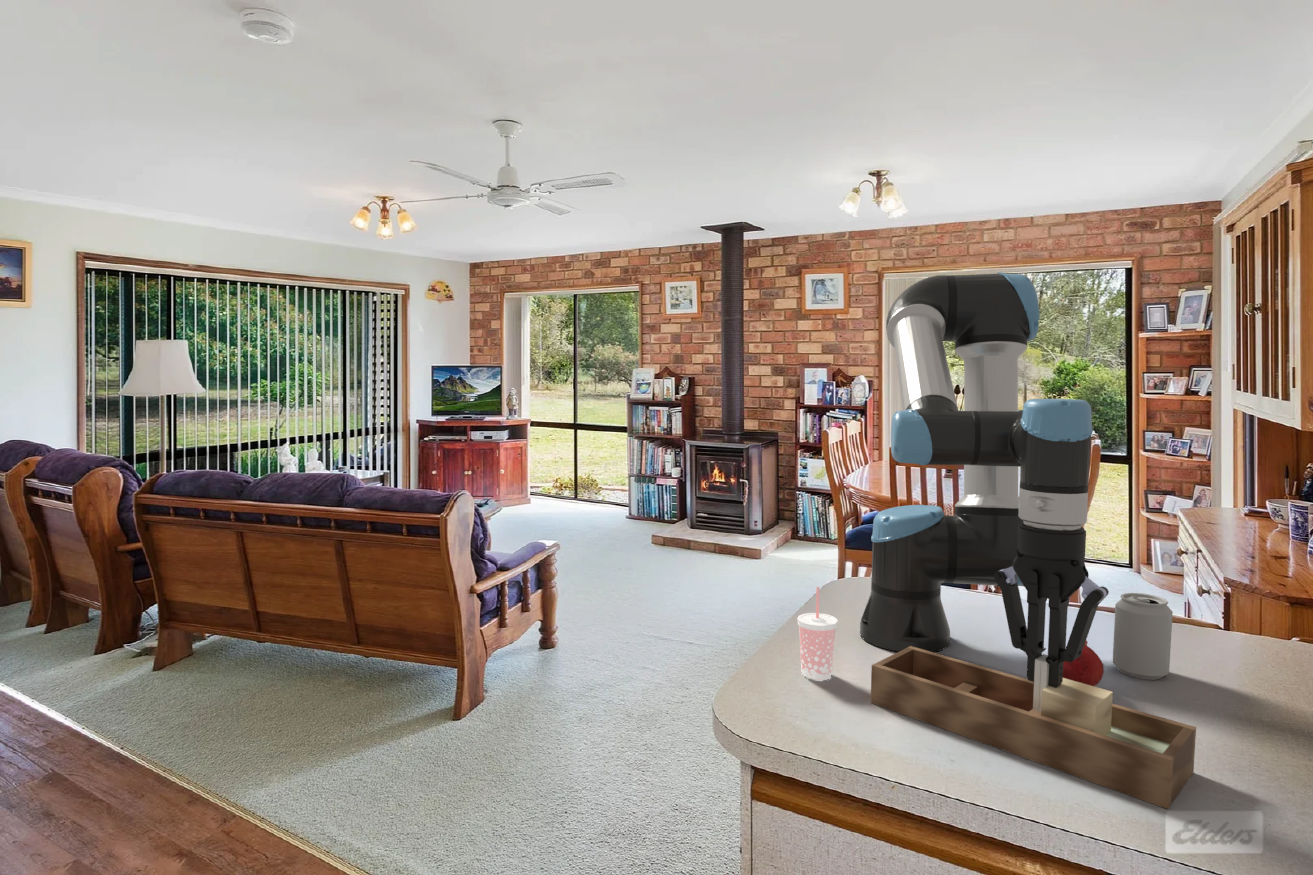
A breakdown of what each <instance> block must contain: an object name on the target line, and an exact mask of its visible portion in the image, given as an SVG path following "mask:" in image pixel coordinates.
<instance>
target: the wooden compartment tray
mask: <svg viewBox="0 0 1313 875" xmlns="http://www.w3.org/2000/svg"><path fill="white" fill-rule="evenodd" d="M870 673H871V674H870V675H871V677H870V678H871V682H870V685H871V686H870V703H871V704H874V705H876V706H879V707H882V708H884V709H887V710H890V711H893V712H894V713H895V712H896V713H899V714H901V715H905V716H907V717H909V718H912V719H915V720H918V721H921V722H924V723H926V724H929V725H932V726H934V727H937V728H940V729H944V730H946V731H949V732H951V733H954V734H957V735H960V736H963V737H966V738H968V739H971V740H974V741H977V742H979V743H981V744H985V745H987V746H991V747H994V748H997V749H999V750H1000V751H1001V750H1002V751H1004V752H1007V753H1010V754H1014V755H1015V756H1019V757H1021V758H1025V759H1027V760H1029V761H1032V762H1035V763H1038V764H1041V765H1044V766H1047V767H1049V768H1053V769H1055V770H1058V771H1060V772H1063V773H1066V774H1069V775H1071V776H1074V777H1077V778H1079V779H1083V780H1086V781H1088V782H1091V783H1094V784H1097V785H1099V786H1102V787H1105V788H1107V789H1111V790H1114V791H1117V792H1118V793H1120V794H1121V793H1122V794H1124V795H1128V796H1130V797H1133V798H1135V799H1138V800H1141V801H1144V802H1146V803H1149V804H1152V805H1156V806H1158V807H1160V808H1164V809H1166V810H1169V809H1170V807H1171V806H1172V805H1173V803H1174V801H1175V800H1176V799H1177V797H1178V796H1179V795H1180V793H1181V791H1182V790H1183V788H1184V787H1185V785H1186V784H1187V783H1188V781H1189V780H1188V779H1190V778H1192V777H1191V776H1192V775H1193V774H1194V770H1195V769H1194V768H1195V751H1196V737H1197V735H1196V734H1197V727H1196V726H1193V725H1190V724H1186V723H1183V722H1179V721H1176V720H1172V719H1170V718H1169V719H1168V718H1165V717H1161V716H1158V715H1154V714H1152V713H1148V712H1144V711H1141V710H1138V709H1133V708H1129V707H1126V706H1122V705H1121V704H1120V705H1119V704H1116V703H1113V702H1112V718H1111V731H1110V732H1109V733H1108V734H1107V735H1106V736H1105V735H1102V734H1099V733H1095V732H1092V731H1089V730H1086V729H1083V728H1080V727H1076V726H1073V725H1070V724H1067V723H1064V722H1060V721H1057V720H1054V719H1051V718H1048V717H1045V716H1041V712H1038V711H1035V710H1033V694H1034V682H1033V681H1030V680H1028V678H1024V677H1021V676H1018V675H1013V674H1011V673H1008V672H1004V671H1000V670H997V669H992V668H989V667H986V666H982V665H980V664H976V663H972V662H969V661H965V660H961V659H957V658H954V657H952V656H951V657H950V656H947V655H943V654H941V653H937V652H930V651H927V650H923V649H920V648H916V647H912V646H909V647H907V648H905V649H903V650H901V651H896V652H895V653H894V654H891V655H889V656H887V657H885V658H882V659H881V660H879V661H877V662H875V663H873V664H871V672H870Z"/></svg>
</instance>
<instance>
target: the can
mask: <svg viewBox="0 0 1313 875" xmlns="http://www.w3.org/2000/svg"><path fill="white" fill-rule="evenodd" d="M1120 598H1121V599H1120V600H1118V601H1116V603H1115V605H1114V606H1115V607H1114V609H1115V610H1114V626H1113V627H1114V628H1113V644H1112V646H1113V648H1112V664H1113V665H1114V666H1115V667H1116V669H1118V671H1119V672H1121V673H1123V674H1124V675H1126V676H1129V677H1131V678H1132V677H1133V678H1136V679H1142V680H1151V681H1152V680H1153V681H1154V680H1160V679H1162V678H1163V677H1164V676H1167V675H1168V674H1169V673H1170V666H1171V665H1170V663H1171V648H1172V646H1171V645H1172V628H1173V614H1174V612H1173V611H1172V609H1171V608H1170V607H1169V605H1168V604H1169V601H1168V600H1167V599H1165V598H1163V597H1160V596H1157V595H1153V594H1148V593H1142V592H1141V593H1140V592H1125V593H1121V595H1120Z"/></svg>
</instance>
